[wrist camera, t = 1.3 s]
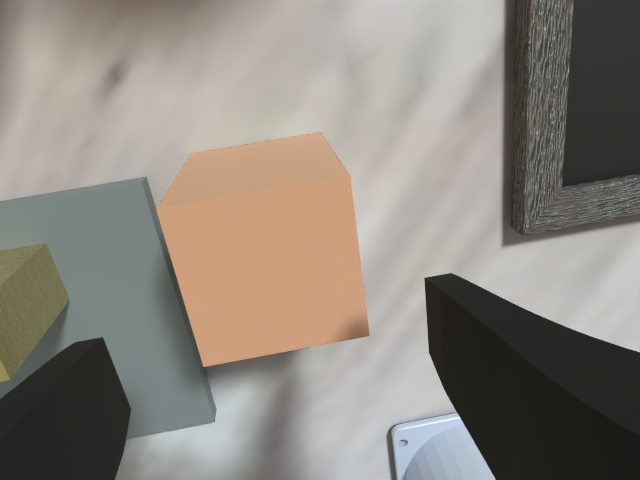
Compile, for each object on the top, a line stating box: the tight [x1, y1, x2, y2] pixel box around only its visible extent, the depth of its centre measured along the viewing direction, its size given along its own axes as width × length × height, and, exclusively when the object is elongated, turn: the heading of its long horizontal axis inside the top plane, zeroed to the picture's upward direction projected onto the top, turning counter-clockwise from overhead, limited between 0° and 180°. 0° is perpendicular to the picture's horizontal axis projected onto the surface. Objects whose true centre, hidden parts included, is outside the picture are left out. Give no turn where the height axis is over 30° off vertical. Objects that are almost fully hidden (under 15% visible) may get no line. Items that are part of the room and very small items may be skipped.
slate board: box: [0, 177, 216, 439], centre depth 20 cm, size 12×11×1 cm
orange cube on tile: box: [156, 132, 369, 367], centre depth 17 cm, size 5×5×7 cm
